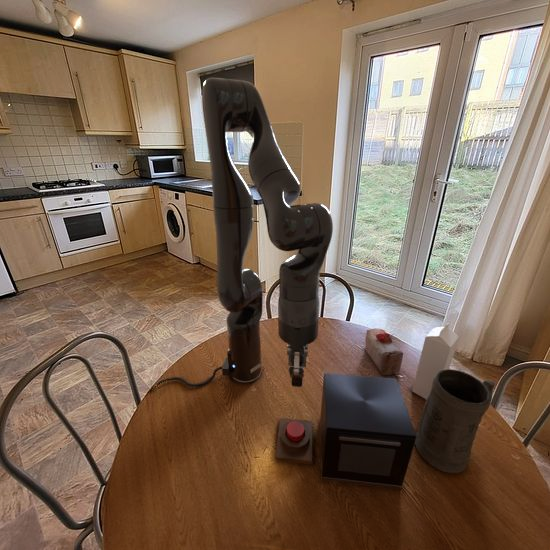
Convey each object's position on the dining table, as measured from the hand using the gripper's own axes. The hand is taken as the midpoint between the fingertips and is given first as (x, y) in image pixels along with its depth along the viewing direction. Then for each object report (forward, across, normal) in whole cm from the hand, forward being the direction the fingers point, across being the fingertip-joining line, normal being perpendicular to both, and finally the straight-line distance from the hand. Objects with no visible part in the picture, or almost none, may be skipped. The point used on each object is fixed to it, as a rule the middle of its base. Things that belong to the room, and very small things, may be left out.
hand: (296, 384), depth 61 cm
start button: (+15, 0, 0) cm, 15 cm away
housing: (+18, 0, 0) cm, 18 cm away
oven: (+18, +1, +14) cm, 23 cm away
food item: (+18, -31, +26) cm, 44 cm away
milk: (+18, -19, +36) cm, 45 cm away
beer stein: (+18, -3, +35) cm, 39 cm away
